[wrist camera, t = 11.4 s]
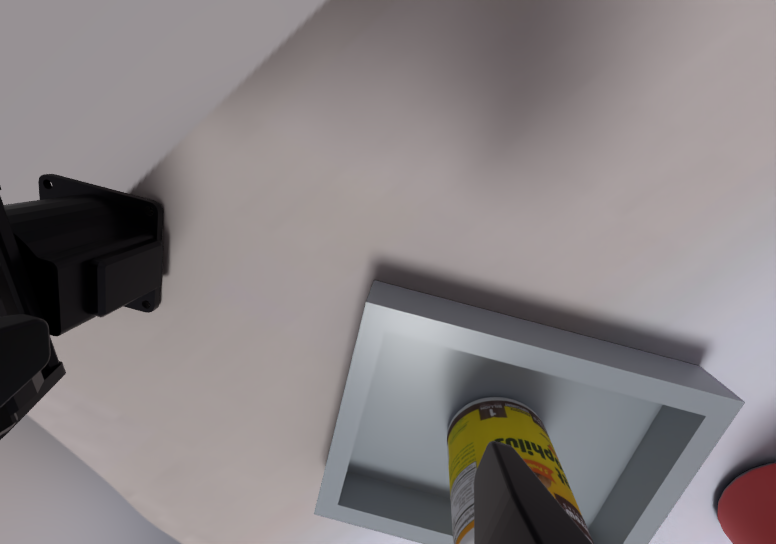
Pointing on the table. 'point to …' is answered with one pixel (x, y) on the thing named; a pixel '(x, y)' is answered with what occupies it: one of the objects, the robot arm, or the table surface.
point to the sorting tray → (526, 385)
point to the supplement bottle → (509, 427)
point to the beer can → (750, 507)
